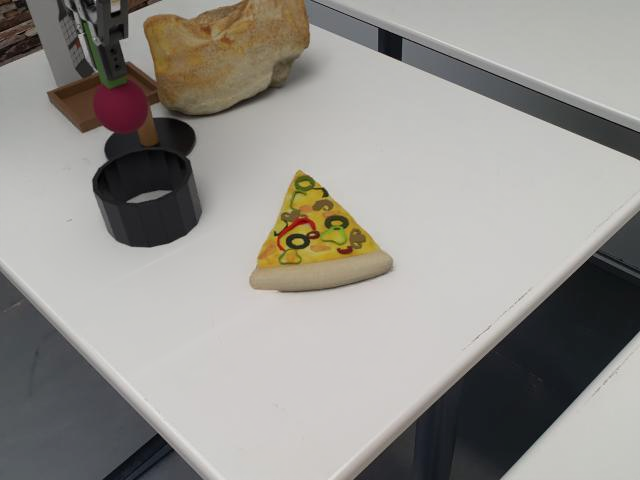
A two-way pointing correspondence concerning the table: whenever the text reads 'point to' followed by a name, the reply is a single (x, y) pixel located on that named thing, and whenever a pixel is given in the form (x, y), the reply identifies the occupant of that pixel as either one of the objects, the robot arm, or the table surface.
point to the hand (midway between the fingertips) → (111, 71)
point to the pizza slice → (315, 244)
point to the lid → (153, 137)
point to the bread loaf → (225, 53)
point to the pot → (154, 215)
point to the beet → (117, 99)
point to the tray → (79, 95)
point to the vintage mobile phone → (59, 41)
